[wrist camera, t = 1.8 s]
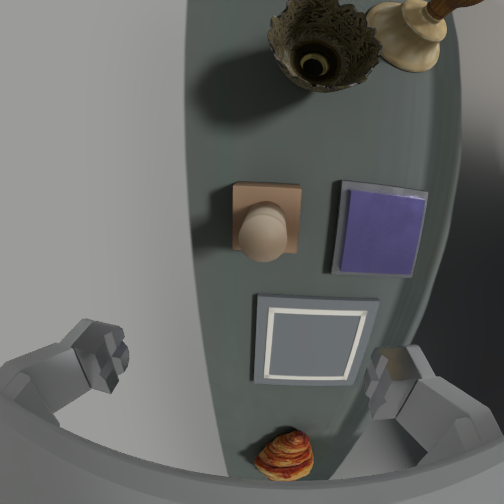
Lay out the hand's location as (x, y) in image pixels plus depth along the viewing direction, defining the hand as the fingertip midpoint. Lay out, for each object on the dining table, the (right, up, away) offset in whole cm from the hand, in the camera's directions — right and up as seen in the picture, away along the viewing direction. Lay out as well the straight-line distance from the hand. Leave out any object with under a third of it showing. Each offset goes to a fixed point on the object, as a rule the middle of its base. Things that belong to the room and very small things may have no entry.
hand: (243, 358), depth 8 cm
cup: (+6, +20, +13) cm, 24 cm away
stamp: (+2, +7, +18) cm, 19 cm away
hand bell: (+15, +24, +10) cm, 30 cm away
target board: (+7, -7, +23) cm, 25 cm away
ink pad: (+13, +5, +17) cm, 22 cm away
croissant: (+6, -32, +33) cm, 46 cm away
